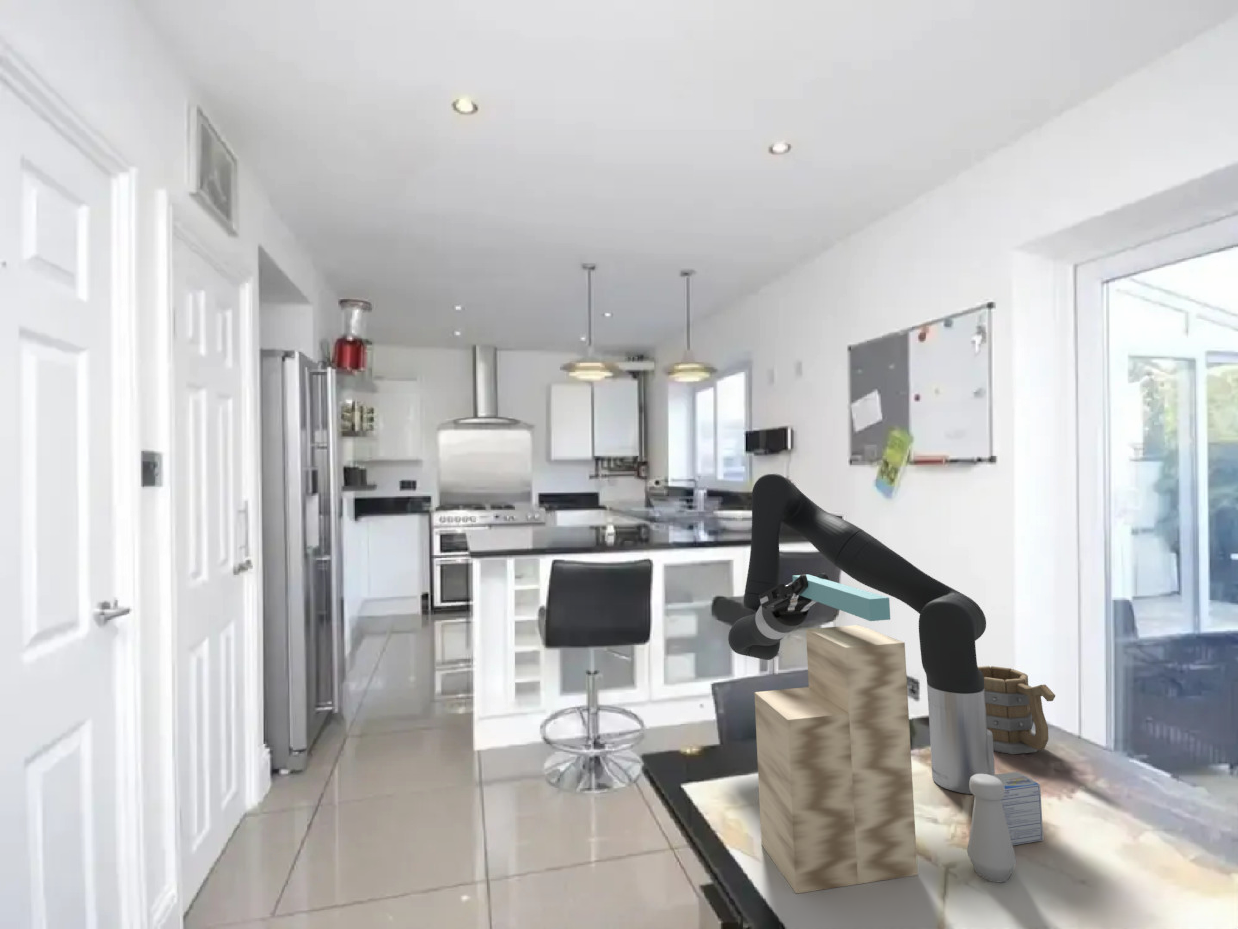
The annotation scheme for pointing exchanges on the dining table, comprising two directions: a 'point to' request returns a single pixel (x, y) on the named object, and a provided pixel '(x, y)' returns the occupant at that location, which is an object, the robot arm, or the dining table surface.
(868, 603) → the teal bar
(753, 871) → the dining table surface
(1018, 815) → the medicine box
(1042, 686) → the tankard
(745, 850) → the dining table surface
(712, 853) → the dining table surface
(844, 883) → the block
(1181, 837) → the dining table surface
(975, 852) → the salt shaker
